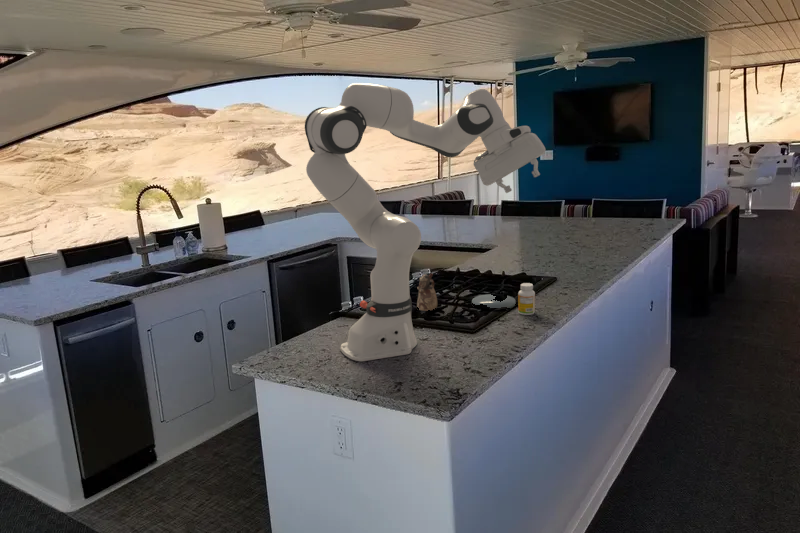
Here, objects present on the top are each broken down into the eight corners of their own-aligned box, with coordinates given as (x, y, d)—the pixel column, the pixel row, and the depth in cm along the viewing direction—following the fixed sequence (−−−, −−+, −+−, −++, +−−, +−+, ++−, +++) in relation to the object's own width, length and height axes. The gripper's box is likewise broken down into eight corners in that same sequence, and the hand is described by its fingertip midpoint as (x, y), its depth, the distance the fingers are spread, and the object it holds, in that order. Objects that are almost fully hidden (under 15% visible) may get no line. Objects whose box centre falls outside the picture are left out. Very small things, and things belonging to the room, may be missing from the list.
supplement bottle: (523, 309, 208) (523, 281, 206) (537, 311, 205) (538, 283, 202) (515, 313, 204) (515, 285, 202) (530, 316, 201) (530, 287, 198)
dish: (488, 313, 205) (488, 310, 205) (463, 302, 218) (463, 299, 218) (524, 305, 212) (524, 301, 212) (498, 294, 225) (498, 291, 225)
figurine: (413, 306, 216) (412, 273, 213) (431, 303, 219) (430, 270, 216) (422, 312, 210) (421, 278, 207) (441, 308, 212) (440, 275, 210)
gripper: (467, 160, 181) (489, 202, 180) (527, 123, 171) (551, 167, 170) (474, 159, 186) (496, 199, 186) (533, 123, 176) (556, 166, 176)
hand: (523, 184), depth 178 cm, fingers open, 8 cm apart
